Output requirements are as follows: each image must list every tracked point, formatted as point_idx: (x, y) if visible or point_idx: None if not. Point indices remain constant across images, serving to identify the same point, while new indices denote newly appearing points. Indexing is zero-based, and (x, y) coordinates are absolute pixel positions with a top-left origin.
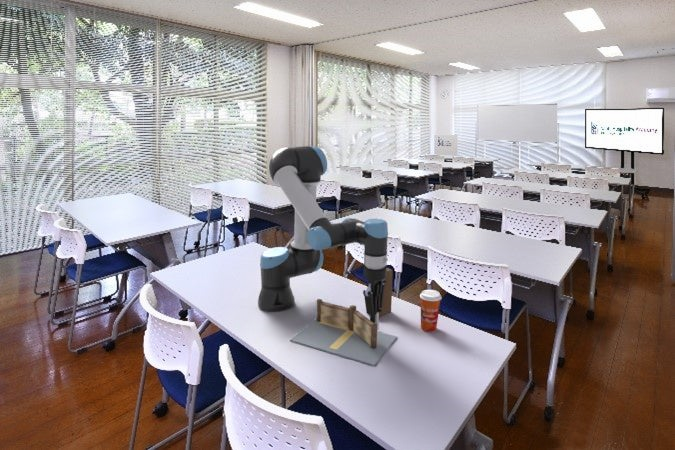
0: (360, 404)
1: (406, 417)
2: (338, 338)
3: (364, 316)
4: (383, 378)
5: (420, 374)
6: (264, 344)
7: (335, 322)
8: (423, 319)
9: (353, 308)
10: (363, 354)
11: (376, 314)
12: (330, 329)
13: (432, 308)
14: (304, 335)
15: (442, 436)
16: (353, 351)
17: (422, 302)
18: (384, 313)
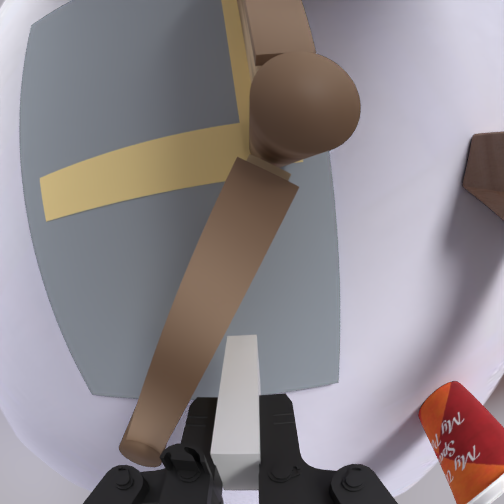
0: (7, 394)
1: (58, 457)
2: (121, 148)
3: (203, 355)
4: (82, 420)
5: None
6: (6, 14)
7: (242, 27)
8: (441, 432)
9: (265, 134)
10: (100, 342)
11: (222, 484)
12: (185, 44)
13: (450, 487)
14: (72, 21)
15: (81, 485)
16: (85, 294)
17: (475, 478)
18: (499, 216)
